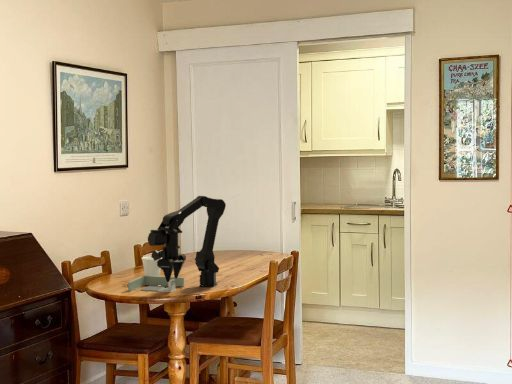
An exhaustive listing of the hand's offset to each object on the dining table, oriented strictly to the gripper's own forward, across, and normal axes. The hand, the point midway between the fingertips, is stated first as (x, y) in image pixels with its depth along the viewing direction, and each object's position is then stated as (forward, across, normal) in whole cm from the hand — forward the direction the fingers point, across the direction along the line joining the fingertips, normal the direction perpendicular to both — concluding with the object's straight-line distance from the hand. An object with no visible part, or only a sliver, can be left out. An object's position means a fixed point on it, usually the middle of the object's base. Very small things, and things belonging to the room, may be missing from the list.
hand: (172, 279), depth 292 cm
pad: (+5, -4, -10) cm, 12 cm away
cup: (+5, -20, -18) cm, 28 cm away
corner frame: (+5, -4, -9) cm, 11 cm away
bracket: (+5, 0, -3) cm, 6 cm away
